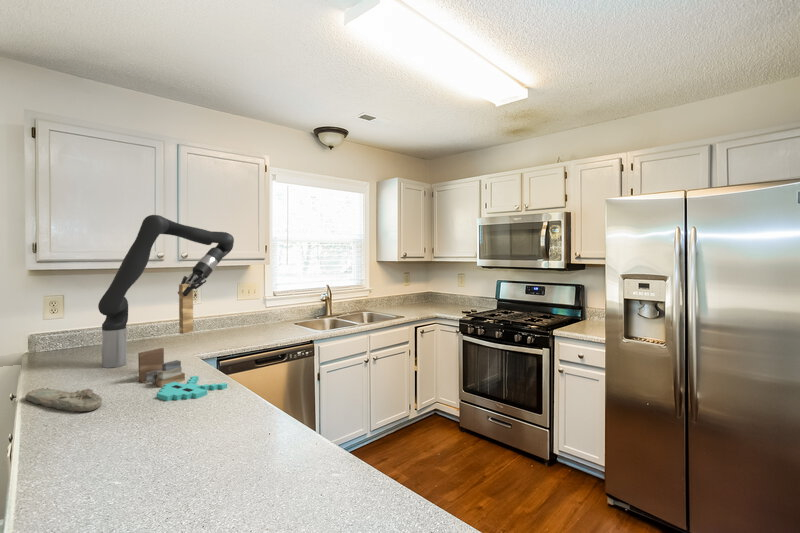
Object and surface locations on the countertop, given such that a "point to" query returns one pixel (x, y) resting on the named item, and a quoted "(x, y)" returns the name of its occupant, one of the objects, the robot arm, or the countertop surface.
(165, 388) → the alien figure
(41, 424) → the countertop surface
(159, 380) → the offcut stack
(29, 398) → the elongated rock
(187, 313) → the tall panel
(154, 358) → the rack
